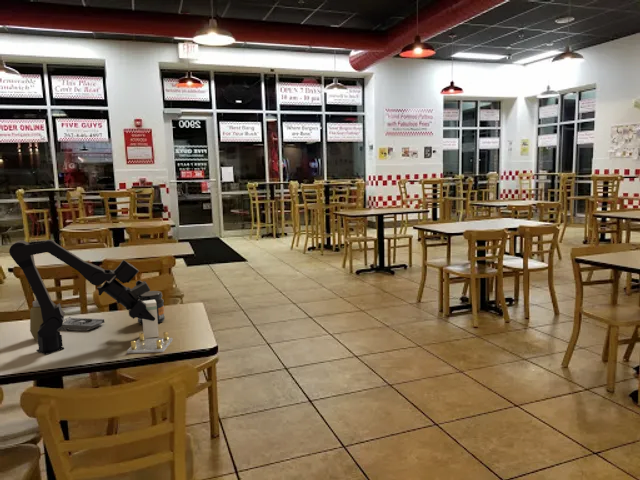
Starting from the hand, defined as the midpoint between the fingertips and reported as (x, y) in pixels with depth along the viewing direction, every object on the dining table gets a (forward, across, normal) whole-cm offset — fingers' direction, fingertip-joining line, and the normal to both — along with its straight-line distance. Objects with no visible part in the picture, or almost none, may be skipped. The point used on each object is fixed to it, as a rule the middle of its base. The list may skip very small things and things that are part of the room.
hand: (153, 318), depth 187 cm
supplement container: (+5, +19, +5) cm, 20 cm away
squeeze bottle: (-22, +16, +32) cm, 42 cm away
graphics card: (-14, +24, +24) cm, 37 cm away
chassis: (+3, -13, +7) cm, 15 cm away
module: (+4, 0, +6) cm, 7 cm away
